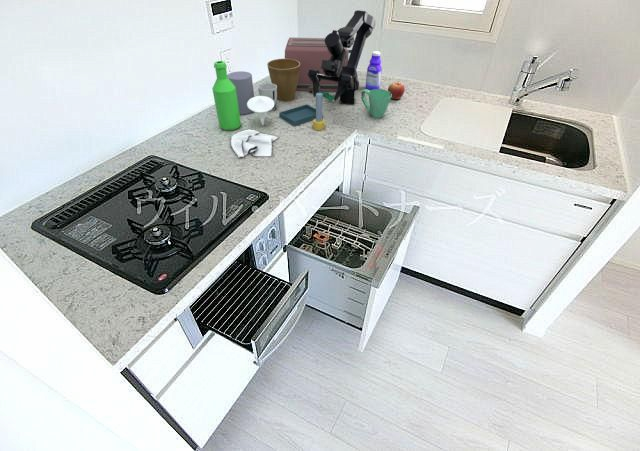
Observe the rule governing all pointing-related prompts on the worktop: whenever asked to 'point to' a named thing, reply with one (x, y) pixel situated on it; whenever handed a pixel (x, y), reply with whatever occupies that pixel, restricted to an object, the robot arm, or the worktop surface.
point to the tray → (299, 114)
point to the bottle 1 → (225, 99)
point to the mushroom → (260, 106)
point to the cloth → (252, 143)
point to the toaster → (311, 60)
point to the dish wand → (319, 113)
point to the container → (242, 89)
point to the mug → (376, 101)
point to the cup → (269, 92)
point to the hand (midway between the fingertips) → (324, 98)
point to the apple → (396, 90)
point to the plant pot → (284, 77)
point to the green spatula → (325, 94)
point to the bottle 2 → (374, 72)
